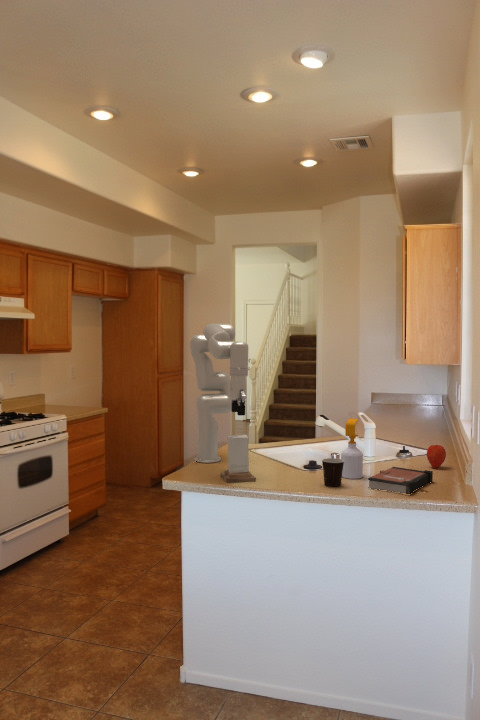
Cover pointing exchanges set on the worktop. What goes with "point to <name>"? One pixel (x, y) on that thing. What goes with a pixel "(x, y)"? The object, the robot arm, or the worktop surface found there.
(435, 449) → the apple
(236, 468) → the skincare box
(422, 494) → the worktop surface
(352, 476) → the soap bottle
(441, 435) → the worktop surface
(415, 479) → the book
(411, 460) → the worktop surface
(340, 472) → the coffee mug
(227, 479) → the plinth
